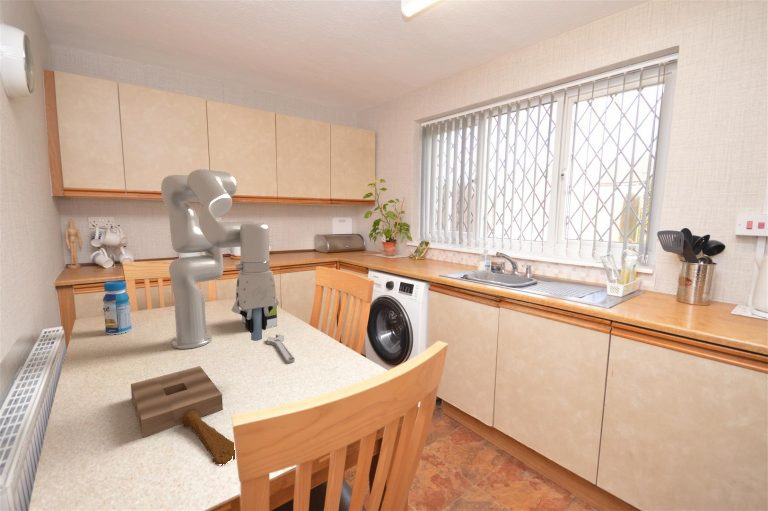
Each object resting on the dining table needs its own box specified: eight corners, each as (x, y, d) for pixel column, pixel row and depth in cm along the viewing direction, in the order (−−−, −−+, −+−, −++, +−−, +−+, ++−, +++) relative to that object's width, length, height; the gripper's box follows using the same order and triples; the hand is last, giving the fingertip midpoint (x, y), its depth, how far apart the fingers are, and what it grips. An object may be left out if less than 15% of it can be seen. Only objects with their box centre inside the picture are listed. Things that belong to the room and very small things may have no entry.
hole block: (131, 398, 87) (130, 384, 86) (200, 379, 97) (199, 365, 97) (143, 437, 72) (141, 420, 72) (222, 409, 83) (222, 394, 82)
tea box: (241, 322, 148) (239, 289, 146) (263, 317, 155) (262, 286, 153) (254, 331, 137) (253, 295, 135) (278, 326, 144) (277, 292, 142)
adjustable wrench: (296, 363, 109) (296, 358, 109) (275, 367, 107) (275, 362, 106) (282, 337, 132) (282, 333, 131) (265, 340, 129) (265, 335, 129)
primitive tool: (247, 453, 68) (246, 437, 68) (221, 470, 64) (219, 453, 63) (197, 420, 79) (196, 406, 79) (172, 433, 75) (170, 418, 74)
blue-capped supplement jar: (131, 332, 133) (127, 282, 131) (104, 336, 129) (99, 285, 126) (132, 326, 140) (128, 279, 138) (106, 330, 136) (102, 281, 133)
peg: (249, 338, 98) (248, 304, 96) (259, 336, 100) (259, 303, 98) (253, 341, 96) (252, 307, 94) (263, 339, 98) (263, 305, 96)
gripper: (229, 272, 87) (231, 340, 89) (288, 266, 97) (288, 327, 100) (220, 267, 92) (222, 332, 95) (277, 262, 103) (277, 321, 105)
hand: (256, 329), depth 97 cm, fingers closed on peg, 3 cm apart
